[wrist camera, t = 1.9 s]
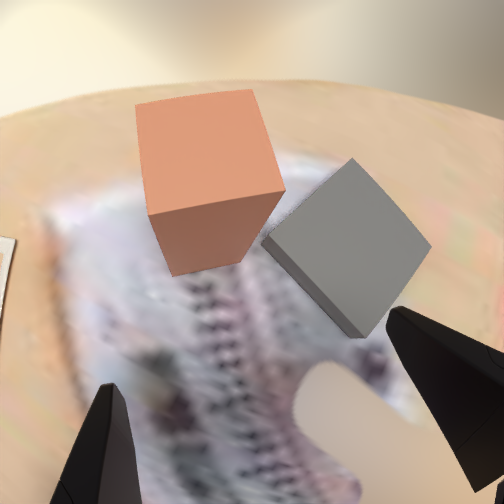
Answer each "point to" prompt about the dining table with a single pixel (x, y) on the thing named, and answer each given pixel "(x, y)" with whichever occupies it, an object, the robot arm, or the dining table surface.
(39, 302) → the dining table surface
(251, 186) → the carton
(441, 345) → the robot arm
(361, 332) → the podium
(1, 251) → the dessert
